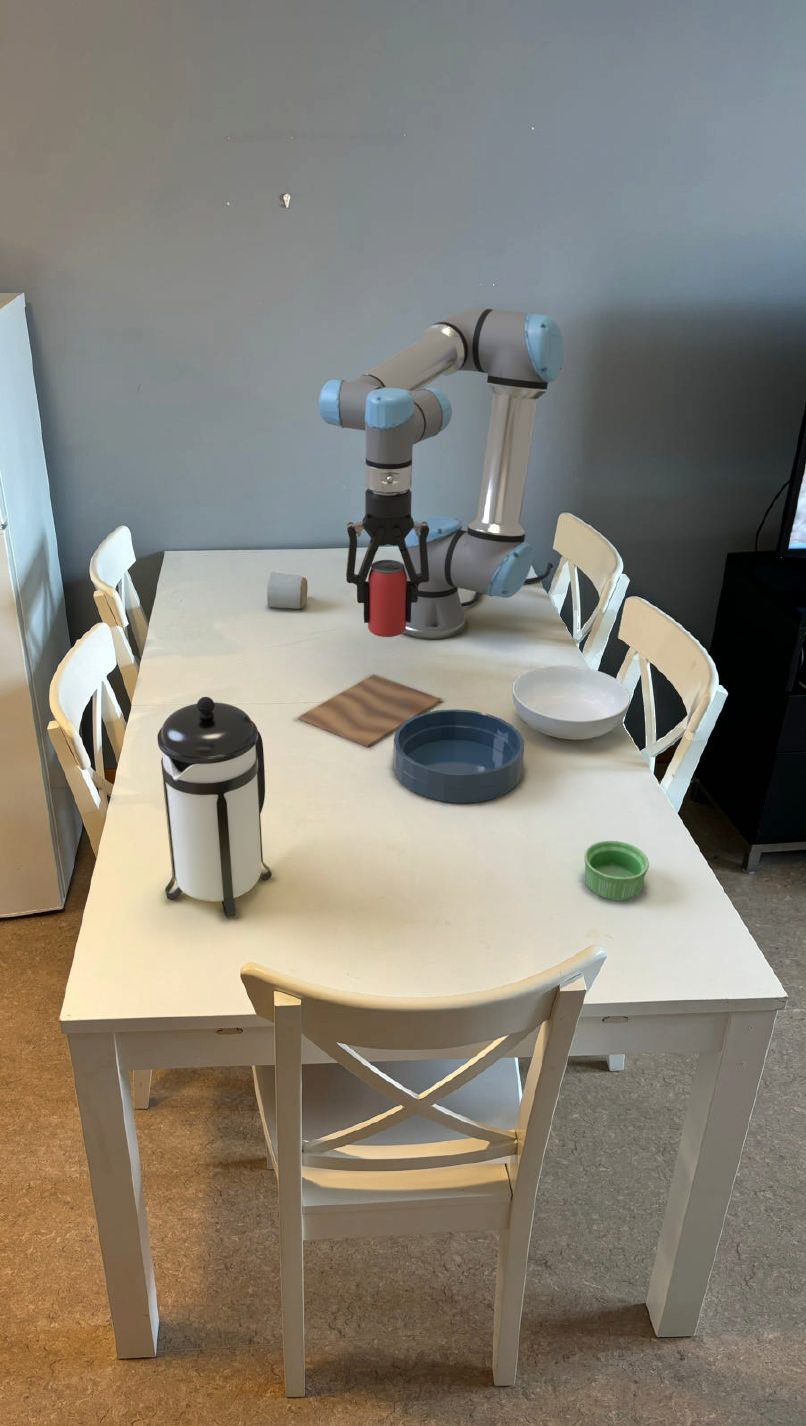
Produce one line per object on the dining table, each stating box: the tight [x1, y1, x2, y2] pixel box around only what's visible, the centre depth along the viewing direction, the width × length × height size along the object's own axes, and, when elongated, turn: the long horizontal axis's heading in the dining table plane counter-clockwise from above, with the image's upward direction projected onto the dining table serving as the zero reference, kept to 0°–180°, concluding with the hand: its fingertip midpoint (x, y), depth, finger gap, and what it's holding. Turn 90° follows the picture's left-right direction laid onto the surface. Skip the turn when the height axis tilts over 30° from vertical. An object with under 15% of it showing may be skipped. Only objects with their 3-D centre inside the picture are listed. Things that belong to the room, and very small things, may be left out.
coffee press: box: [156, 696, 273, 919], centre depth 145 cm, size 17×16×30 cm
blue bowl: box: [392, 708, 525, 804], centre depth 179 cm, size 21×21×6 cm
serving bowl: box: [511, 664, 631, 740], centre depth 193 cm, size 21×21×7 cm
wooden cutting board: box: [298, 674, 442, 748], centre depth 197 cm, size 22×16×1 cm
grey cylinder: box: [266, 572, 308, 610], centre depth 238 cm, size 11×8×8 cm
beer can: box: [367, 559, 407, 638], centre depth 183 cm, size 7×7×12 cm
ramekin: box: [584, 840, 650, 901], centre depth 152 cm, size 9×9×4 cm
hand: (387, 619), depth 185 cm, fingers closed on beer can, 6 cm apart
